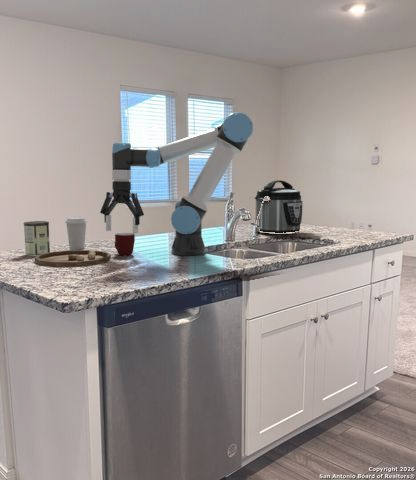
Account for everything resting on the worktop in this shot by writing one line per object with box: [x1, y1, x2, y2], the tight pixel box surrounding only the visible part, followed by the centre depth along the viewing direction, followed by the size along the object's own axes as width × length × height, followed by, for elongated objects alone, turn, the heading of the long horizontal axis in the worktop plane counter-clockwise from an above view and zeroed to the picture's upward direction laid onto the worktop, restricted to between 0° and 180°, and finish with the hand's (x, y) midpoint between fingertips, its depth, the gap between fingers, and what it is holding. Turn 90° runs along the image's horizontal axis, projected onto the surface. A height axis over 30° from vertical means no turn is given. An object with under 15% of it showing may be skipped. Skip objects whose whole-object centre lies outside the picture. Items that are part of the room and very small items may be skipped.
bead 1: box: [76, 255, 84, 262], centre depth 182 cm, size 3×3×3 cm
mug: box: [114, 232, 136, 257], centre depth 200 cm, size 11×8×10 cm
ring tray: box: [34, 249, 112, 268], centre depth 188 cm, size 28×28×3 cm
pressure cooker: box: [254, 179, 303, 233], centre depth 286 cm, size 30×28×32 cm
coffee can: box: [23, 220, 51, 257], centre depth 206 cm, size 10×10×14 cm
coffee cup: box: [65, 216, 88, 250], centre depth 217 cm, size 10×10×15 cm
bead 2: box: [88, 253, 95, 260], centre depth 186 cm, size 3×3×3 cm
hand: (121, 231), depth 199 cm, fingers open, 13 cm apart
